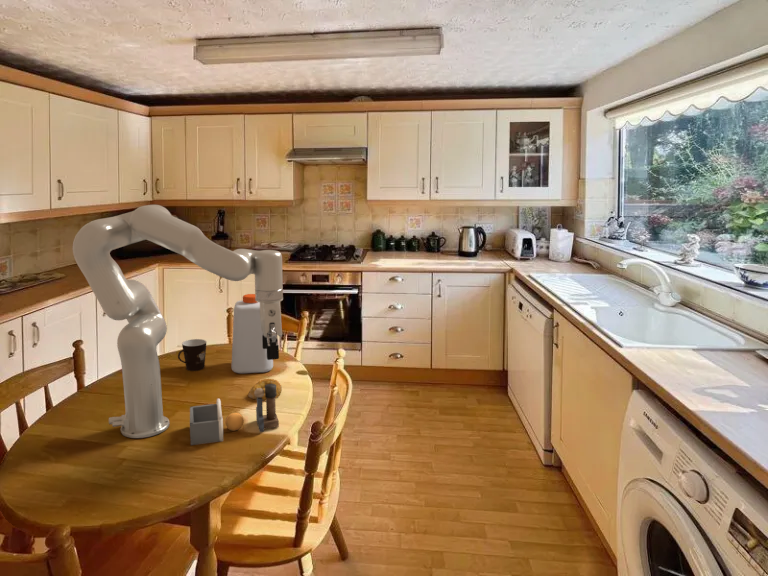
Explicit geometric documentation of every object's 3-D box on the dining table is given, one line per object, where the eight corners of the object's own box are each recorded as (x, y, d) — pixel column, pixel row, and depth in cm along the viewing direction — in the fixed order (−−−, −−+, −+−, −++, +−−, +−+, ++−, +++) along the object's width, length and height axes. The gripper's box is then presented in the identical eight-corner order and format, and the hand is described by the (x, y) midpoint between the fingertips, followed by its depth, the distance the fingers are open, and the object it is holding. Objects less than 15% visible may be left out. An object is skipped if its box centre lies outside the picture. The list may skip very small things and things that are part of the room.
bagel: (244, 393, 174) (244, 380, 173) (275, 387, 180) (276, 374, 179) (253, 404, 166) (253, 391, 165) (286, 398, 172) (286, 385, 171)
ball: (226, 434, 146) (225, 418, 145) (225, 426, 151) (224, 410, 149) (244, 432, 148) (244, 416, 147) (243, 424, 152) (242, 408, 151)
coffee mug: (202, 362, 202) (201, 337, 200) (211, 368, 195) (210, 343, 193) (171, 368, 194) (170, 343, 192) (179, 375, 188) (178, 349, 186)
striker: (256, 432, 147) (255, 393, 145) (253, 419, 155) (252, 382, 152) (279, 429, 149) (279, 390, 147) (275, 416, 157) (274, 379, 154)
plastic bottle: (273, 373, 193) (272, 299, 187) (230, 375, 190) (228, 300, 184) (273, 359, 207) (271, 290, 202) (233, 361, 204) (231, 291, 198)
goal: (190, 445, 140) (189, 419, 138) (191, 425, 151) (189, 401, 149) (223, 441, 142) (222, 415, 141) (221, 422, 153) (220, 398, 152)
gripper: (287, 301, 138) (288, 362, 141) (278, 288, 154) (279, 343, 157) (258, 302, 135) (260, 365, 139) (252, 289, 151) (253, 345, 155)
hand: (270, 353), depth 148 cm, fingers open, 9 cm apart
